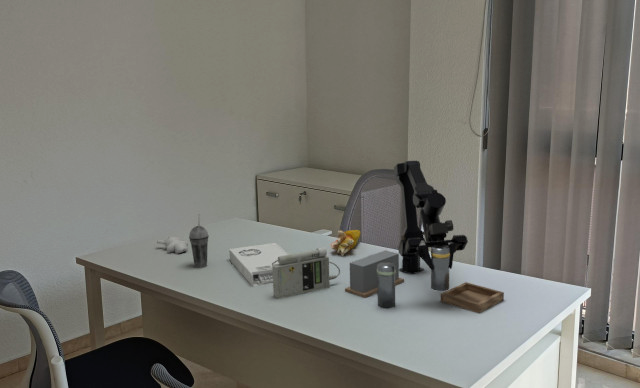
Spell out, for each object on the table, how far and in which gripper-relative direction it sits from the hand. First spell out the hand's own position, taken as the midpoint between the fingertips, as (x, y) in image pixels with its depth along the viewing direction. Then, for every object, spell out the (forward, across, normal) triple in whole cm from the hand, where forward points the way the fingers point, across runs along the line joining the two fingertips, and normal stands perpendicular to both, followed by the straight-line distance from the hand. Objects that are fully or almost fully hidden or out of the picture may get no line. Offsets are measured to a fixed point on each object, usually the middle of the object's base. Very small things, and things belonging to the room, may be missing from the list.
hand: (441, 268), depth 198 cm
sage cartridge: (+5, -16, +12) cm, 21 cm away
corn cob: (-38, -17, +56) cm, 70 cm away
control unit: (-7, -16, +24) cm, 30 cm away
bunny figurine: (-48, -88, +66) cm, 120 cm away
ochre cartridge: (+4, 0, +6) cm, 7 cm away
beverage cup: (-31, -76, +49) cm, 96 cm away
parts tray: (+7, +11, +11) cm, 17 cm away
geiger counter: (-8, -39, +26) cm, 47 cm away
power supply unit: (-25, -52, +44) cm, 73 cm away
